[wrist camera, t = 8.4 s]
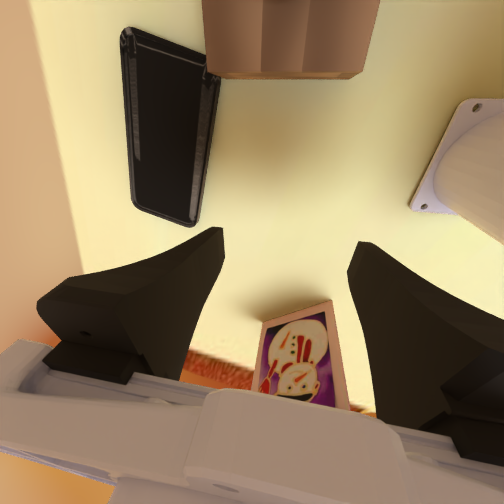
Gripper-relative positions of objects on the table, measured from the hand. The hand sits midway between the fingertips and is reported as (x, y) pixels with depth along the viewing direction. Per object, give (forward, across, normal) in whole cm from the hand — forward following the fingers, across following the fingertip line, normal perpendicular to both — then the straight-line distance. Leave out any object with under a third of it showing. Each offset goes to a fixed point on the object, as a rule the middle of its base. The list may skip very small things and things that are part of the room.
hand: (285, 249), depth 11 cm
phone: (+11, +12, -3) cm, 17 cm away
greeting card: (+11, -5, +20) cm, 23 cm away
